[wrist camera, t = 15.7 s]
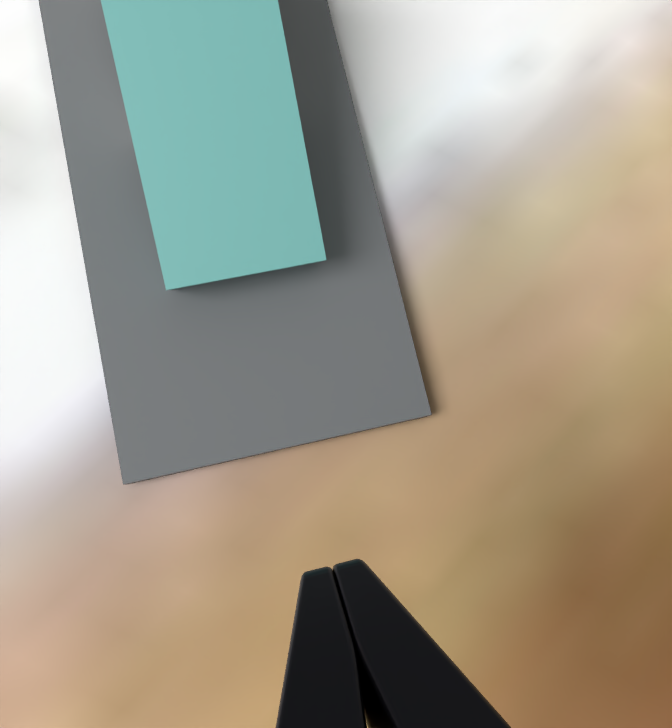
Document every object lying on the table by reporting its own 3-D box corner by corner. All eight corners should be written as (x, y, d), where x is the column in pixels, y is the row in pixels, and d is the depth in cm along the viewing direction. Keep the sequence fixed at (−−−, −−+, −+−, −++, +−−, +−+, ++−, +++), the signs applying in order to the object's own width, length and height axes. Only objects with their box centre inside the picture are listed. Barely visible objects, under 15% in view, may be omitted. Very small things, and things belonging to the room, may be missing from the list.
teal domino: (326, 259, 20) (262, -83, 19) (165, 290, 20) (86, -63, 18) (319, 261, 22) (259, -55, 20) (170, 289, 21) (97, -35, 20)
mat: (428, 416, 22) (431, 414, 21) (126, 484, 20) (123, 484, 20) (232, -360, 27) (231, -375, 26) (-19, -346, 25) (-25, -362, 25)
